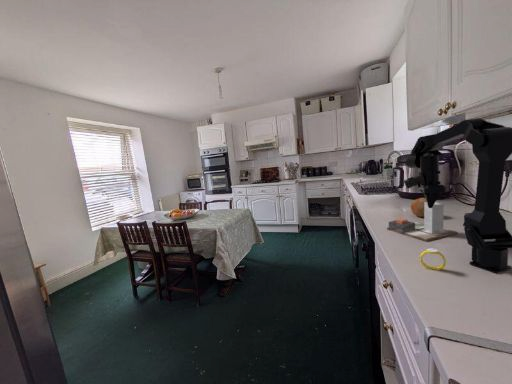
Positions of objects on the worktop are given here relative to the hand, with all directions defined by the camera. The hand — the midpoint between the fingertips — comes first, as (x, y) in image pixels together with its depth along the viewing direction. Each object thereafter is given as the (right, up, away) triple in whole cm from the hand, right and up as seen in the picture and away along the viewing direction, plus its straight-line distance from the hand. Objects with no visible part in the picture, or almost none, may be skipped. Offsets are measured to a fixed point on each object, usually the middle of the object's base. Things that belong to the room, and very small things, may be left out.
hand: (430, 207), depth 88 cm
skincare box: (+6, -10, +6) cm, 13 cm away
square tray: (+3, -11, +9) cm, 14 cm away
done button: (-4, -9, +12) cm, 15 cm away
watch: (-15, -17, -20) cm, 31 cm away
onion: (+18, -7, +29) cm, 35 cm away
